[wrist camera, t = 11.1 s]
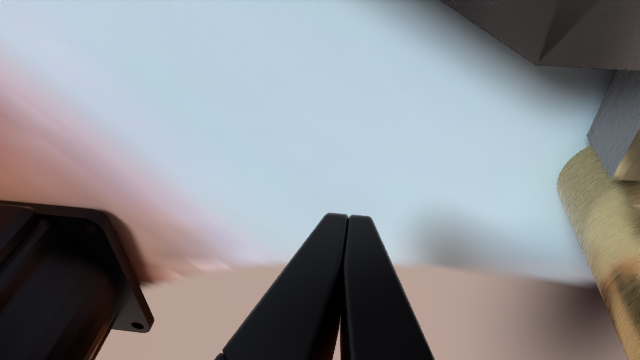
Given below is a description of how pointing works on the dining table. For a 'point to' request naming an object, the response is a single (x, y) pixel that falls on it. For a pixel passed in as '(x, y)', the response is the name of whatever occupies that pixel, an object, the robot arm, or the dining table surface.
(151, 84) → the dining table surface
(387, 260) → the robot arm
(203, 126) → the dining table surface
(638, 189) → the curvy grey metal tray
